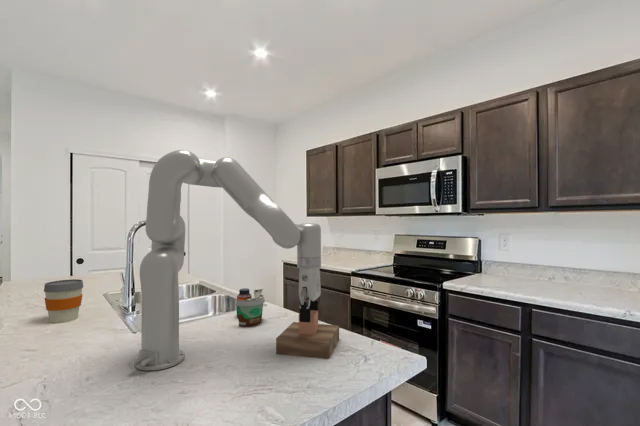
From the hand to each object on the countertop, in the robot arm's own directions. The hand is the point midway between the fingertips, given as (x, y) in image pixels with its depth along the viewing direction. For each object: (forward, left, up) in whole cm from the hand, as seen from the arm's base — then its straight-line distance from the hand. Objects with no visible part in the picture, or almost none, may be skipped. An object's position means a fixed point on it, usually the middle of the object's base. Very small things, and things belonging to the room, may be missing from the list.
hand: (309, 317), depth 104 cm
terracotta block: (0, 0, -4) cm, 5 cm away
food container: (+16, +26, -9) cm, 32 cm away
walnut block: (0, 0, -10) cm, 10 cm away
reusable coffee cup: (+5, +103, -9) cm, 104 cm away
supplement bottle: (+24, +34, -9) cm, 43 cm away
